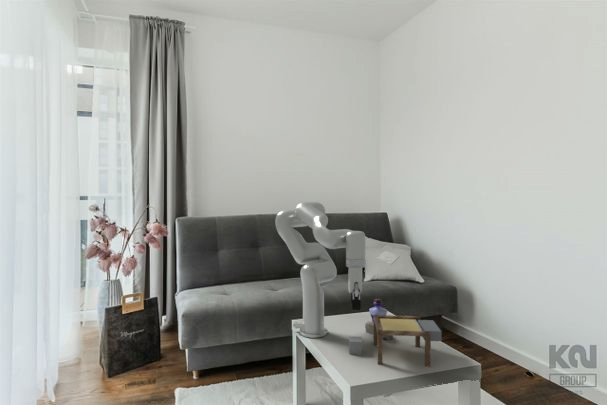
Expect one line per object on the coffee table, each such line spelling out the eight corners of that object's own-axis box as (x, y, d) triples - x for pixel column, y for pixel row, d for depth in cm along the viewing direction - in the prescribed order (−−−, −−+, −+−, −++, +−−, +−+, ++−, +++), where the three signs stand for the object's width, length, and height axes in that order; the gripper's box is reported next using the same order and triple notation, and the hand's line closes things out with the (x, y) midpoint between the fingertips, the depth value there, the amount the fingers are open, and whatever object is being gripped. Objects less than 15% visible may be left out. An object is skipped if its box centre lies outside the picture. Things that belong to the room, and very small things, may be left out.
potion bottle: (375, 328, 168) (375, 302, 168) (365, 322, 176) (365, 297, 176) (390, 325, 171) (390, 300, 171) (380, 320, 179) (380, 296, 179)
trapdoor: (383, 340, 134) (383, 330, 134) (379, 326, 148) (379, 318, 148) (442, 342, 132) (442, 332, 132) (432, 328, 146) (432, 319, 146)
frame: (377, 364, 132) (377, 331, 132) (373, 343, 151) (373, 315, 150) (430, 366, 130) (430, 333, 130) (419, 345, 149) (419, 316, 149)
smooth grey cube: (349, 354, 141) (349, 341, 141) (349, 348, 146) (348, 336, 146) (362, 354, 140) (362, 341, 140) (361, 349, 145) (361, 337, 145)
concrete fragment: (375, 328, 168) (375, 315, 168) (394, 339, 155) (394, 325, 155) (362, 331, 165) (362, 318, 165) (381, 342, 152) (381, 328, 152)
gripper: (345, 258, 152) (345, 299, 152) (346, 266, 134) (346, 312, 135) (363, 258, 151) (363, 299, 151) (366, 266, 134) (367, 313, 134)
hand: (355, 305), depth 143 cm, fingers open, 9 cm apart
